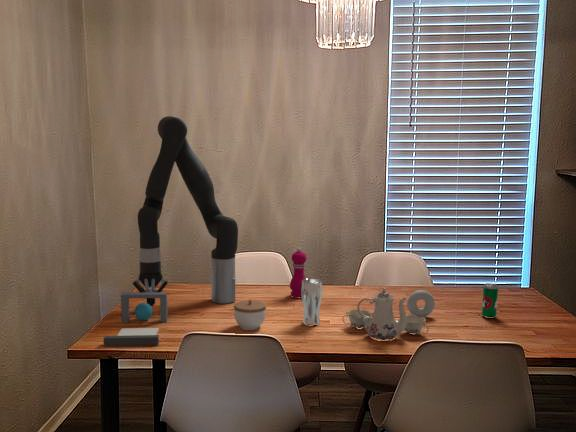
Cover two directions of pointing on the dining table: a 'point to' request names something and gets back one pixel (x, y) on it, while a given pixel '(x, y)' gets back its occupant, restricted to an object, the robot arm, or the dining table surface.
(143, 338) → the wall
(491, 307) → the soda can
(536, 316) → the dining table surface
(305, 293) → the beer glass
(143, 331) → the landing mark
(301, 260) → the pepper mill
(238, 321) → the lidded jar
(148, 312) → the ball
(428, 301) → the donut
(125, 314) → the bridge
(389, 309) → the chinaware
